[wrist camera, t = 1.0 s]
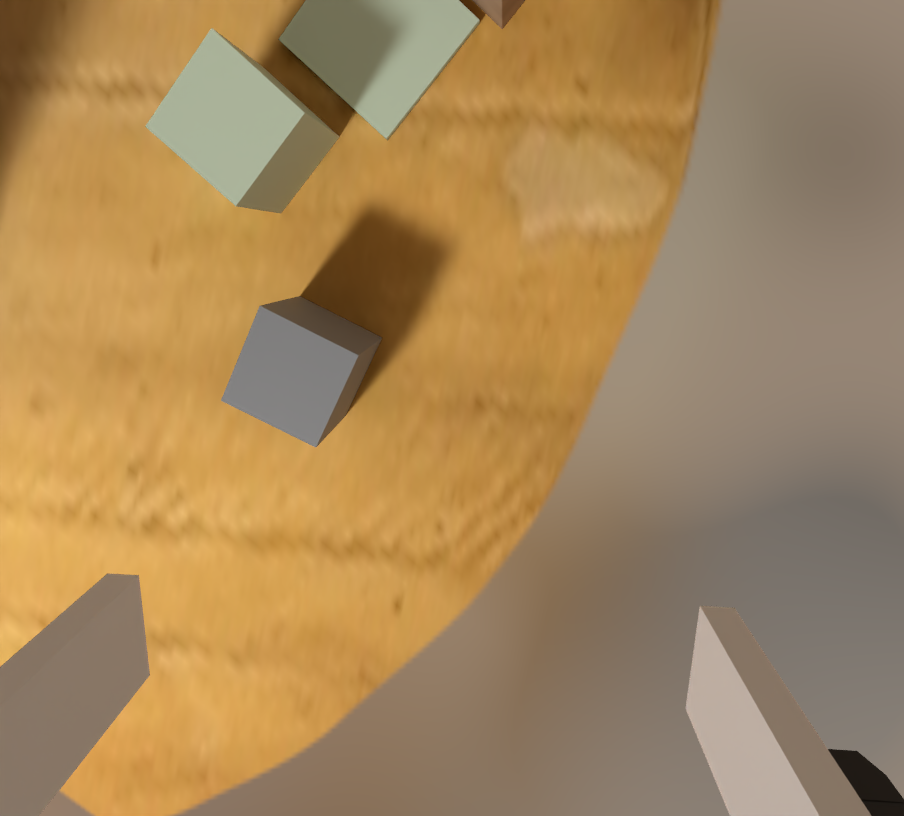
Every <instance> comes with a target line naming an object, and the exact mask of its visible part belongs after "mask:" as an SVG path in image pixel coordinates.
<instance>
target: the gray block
mask: <svg viewBox="0 0 904 816" xmlns="http://www.w3.org/2000/svg"><path fill="white" fill-rule="evenodd" d="M381 339H382V337H380V336H378V335H376V334H374V333H372V332H370V331H368V330H366V329H364V328H362V327H360V326H358V325H356V324H354V323H352V322H350V321H348V320H346V319H344V318H342V317H340V316H338V315H336V314H334V313H332V312H330V311H328V310H326V309H324V308H322V307H320V306H319V305H317V304H315V303H313V302H311V301H309V300H307V299H305V298H303V297H301V296H299V297H294V298H290V299H286V300H282V301H278V302H274V303H270V304H265V305H261V306H260V307H259V309H258V312H257V314H256V317H255V319H254V321H253V324H252V326H251V329H250V331H249V334H248V336H247V339H246V341H245V343H244V346H243V348H242V351H241V353H240V356H239V358H238V360H237V363H236V365H235V368H234V370H233V373H232V375H231V378H230V380H229V382H228V385H227V387H226V390H225V392H224V395H223V397H222V399H221V401H223V402H225V403H227V404H229V405H231V406H233V407H235V408H237V409H239V410H241V411H243V412H245V413H247V414H249V415H251V416H253V417H255V418H257V419H259V420H261V421H263V422H265V423H267V424H269V425H272V426H274V427H276V428H278V429H280V430H282V431H284V432H286V433H288V434H290V435H292V436H294V437H296V438H298V439H300V440H302V441H304V442H306V443H308V444H310V445H312V446H314V447H317V446H318V445H319V444H320V443H321V442H322V440H323V439H324V438H325V437H326V436H327V435H328V434H329V433H330V432H331V431H332V430H333V429H334V428H335V427H336V425H337V424H338V423H339V422H340V421H341V420H342V419H343V418H344V417H345V416H346V414H347V412H348V409H349V407H350V405H351V403H352V401H353V399H354V397H355V395H356V392H357V390H358V388H359V386H360V384H361V382H362V380H363V378H364V375H365V373H366V371H367V369H368V367H369V365H370V363H371V361H372V358H373V356H374V354H375V352H376V350H377V348H378V346H379V344H380V341H381Z"/></svg>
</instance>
